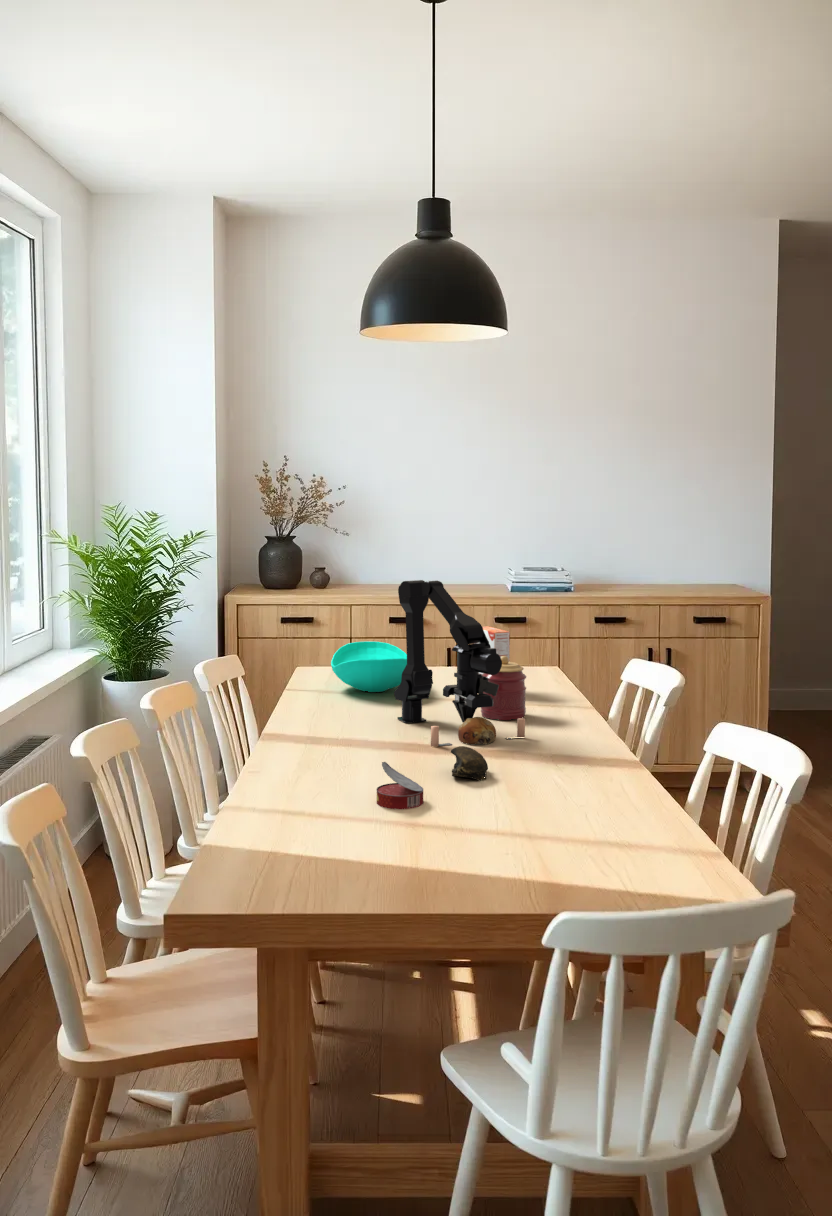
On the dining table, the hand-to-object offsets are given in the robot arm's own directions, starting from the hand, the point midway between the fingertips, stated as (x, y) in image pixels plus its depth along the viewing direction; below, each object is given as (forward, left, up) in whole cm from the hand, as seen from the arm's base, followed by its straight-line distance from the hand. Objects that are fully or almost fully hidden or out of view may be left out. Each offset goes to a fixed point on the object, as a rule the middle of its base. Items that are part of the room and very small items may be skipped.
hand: (467, 727), depth 291 cm
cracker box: (-52, +34, -2) cm, 62 cm away
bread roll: (+6, 0, -2) cm, 7 cm away
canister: (-19, +21, -2) cm, 28 cm away
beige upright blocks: (+7, 0, -2) cm, 7 cm away
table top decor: (-70, +1, -2) cm, 70 cm away
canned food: (+50, -40, -3) cm, 64 cm away
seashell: (+36, -17, -3) cm, 39 cm away
